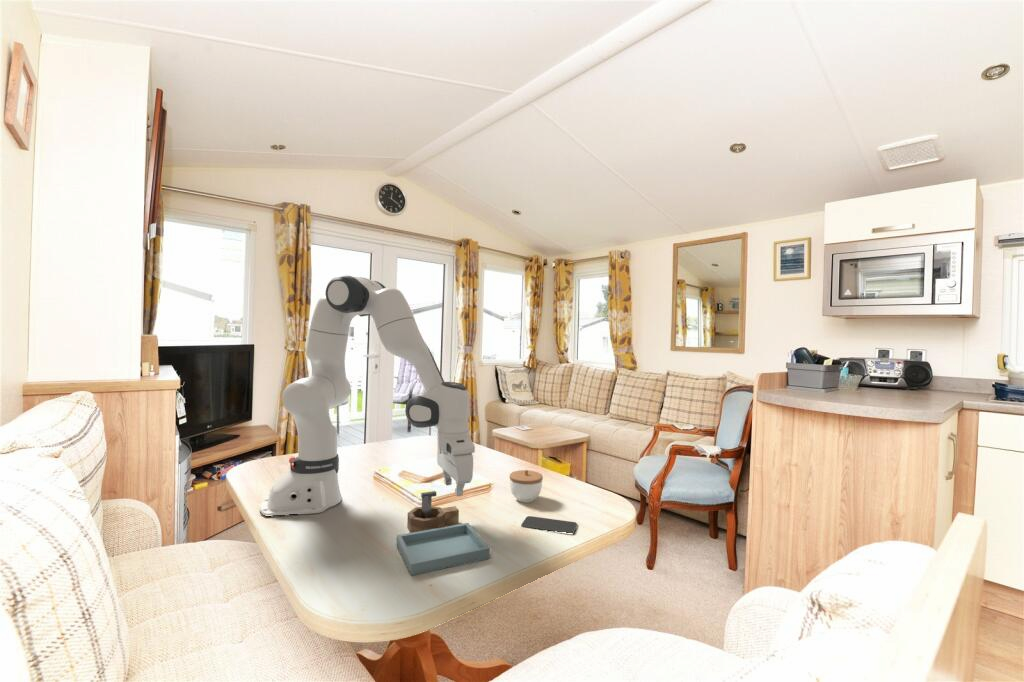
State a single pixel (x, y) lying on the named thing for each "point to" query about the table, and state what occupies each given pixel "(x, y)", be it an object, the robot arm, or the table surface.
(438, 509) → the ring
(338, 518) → the table surface
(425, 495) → the stake
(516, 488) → the lidded jar
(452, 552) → the tray
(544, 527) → the smartphone
